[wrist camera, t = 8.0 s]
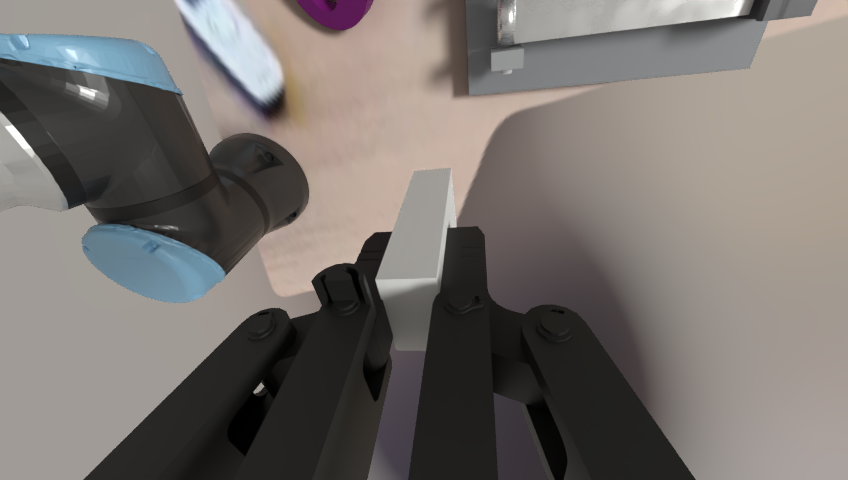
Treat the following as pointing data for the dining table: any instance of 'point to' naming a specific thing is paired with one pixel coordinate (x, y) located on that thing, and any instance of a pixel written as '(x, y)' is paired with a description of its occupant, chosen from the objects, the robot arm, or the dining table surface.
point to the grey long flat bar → (601, 16)
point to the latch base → (616, 50)
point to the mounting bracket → (336, 12)
